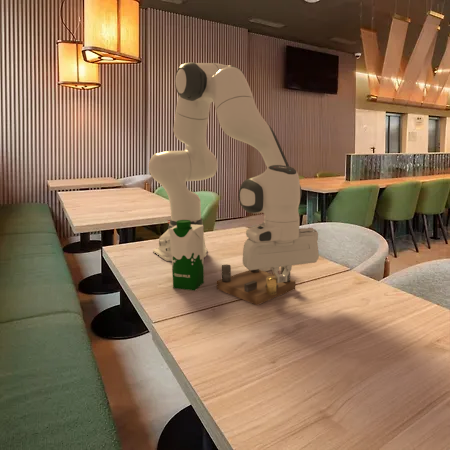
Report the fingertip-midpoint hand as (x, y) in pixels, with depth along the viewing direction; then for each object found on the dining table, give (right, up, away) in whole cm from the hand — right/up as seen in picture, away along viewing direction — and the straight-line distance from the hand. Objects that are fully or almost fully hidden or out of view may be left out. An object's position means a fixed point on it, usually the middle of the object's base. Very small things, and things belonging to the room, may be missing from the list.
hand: (280, 281), depth 101 cm
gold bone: (-2, -2, +3) cm, 4 cm away
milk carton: (-25, -3, +14) cm, 29 cm away
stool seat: (-6, -4, +11) cm, 13 cm away
